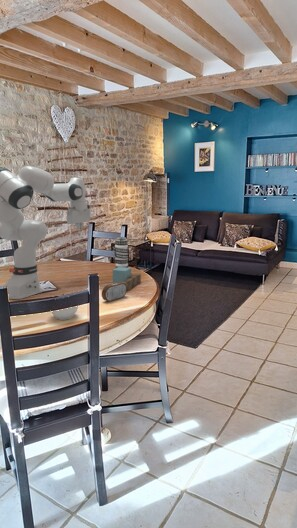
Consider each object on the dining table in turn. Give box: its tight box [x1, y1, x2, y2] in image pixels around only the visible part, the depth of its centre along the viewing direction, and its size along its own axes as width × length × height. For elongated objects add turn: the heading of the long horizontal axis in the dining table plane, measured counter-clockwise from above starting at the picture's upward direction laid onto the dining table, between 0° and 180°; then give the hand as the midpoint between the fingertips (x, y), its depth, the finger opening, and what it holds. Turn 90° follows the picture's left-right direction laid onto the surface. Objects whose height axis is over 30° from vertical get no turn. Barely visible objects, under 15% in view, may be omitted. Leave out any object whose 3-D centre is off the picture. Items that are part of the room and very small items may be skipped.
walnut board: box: [122, 273, 142, 293], centre depth 202 cm, size 22×3×5 cm, turn 159°
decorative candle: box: [113, 236, 130, 268], centre depth 223 cm, size 9×9×25 cm
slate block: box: [112, 267, 132, 283], centre depth 204 cm, size 8×8×10 cm
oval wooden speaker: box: [101, 282, 128, 302], centre depth 180 cm, size 15×3×8 cm, turn 136°
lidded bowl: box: [50, 292, 79, 321], centre depth 156 cm, size 13×13×11 cm
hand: (79, 230), depth 207 cm, fingers closed
